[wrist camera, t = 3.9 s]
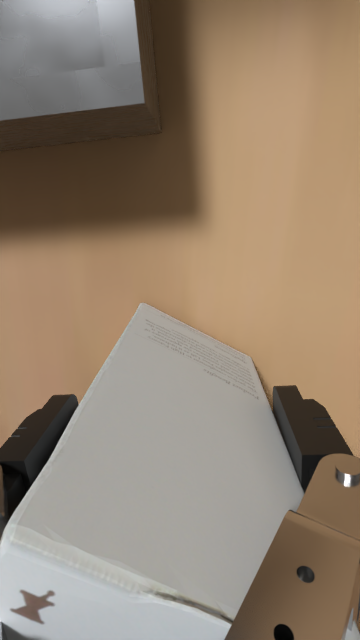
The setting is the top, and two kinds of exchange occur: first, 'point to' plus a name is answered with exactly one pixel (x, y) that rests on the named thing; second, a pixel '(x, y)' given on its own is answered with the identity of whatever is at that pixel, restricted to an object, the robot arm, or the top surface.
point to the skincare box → (151, 497)
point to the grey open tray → (76, 72)
